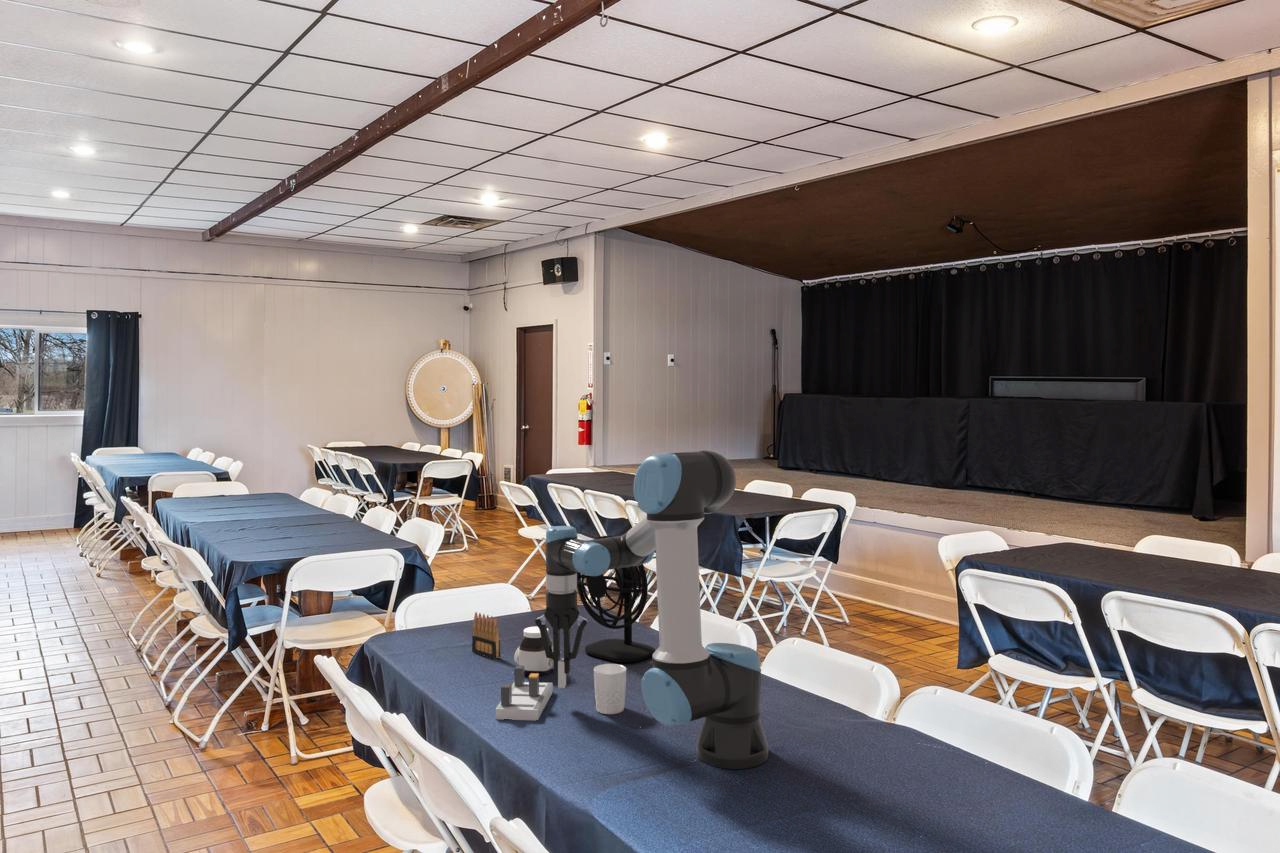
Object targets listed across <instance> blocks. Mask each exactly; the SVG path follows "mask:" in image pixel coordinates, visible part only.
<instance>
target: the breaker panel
mask: <svg viewBox="0 0 1280 853" xmlns="http://www.w3.org/2000/svg"><path fill="white" fill-rule="evenodd" d="M511 684H512V703H511V704H510V706H501V701H500V702H499V703H498V705H497V706H496V708H495V720H504V719H510V720H511V719H512V720H514V721H536V720H538V721H539V719H540V717H541V715H542V714H541V713H543V712H544V710H543V709H545V708H546V706H547V704H548V702H549V701H550V698H551V696H552V695H553V687H554V683H553V682H539V694H538V696H529V681H524V684H523V686H515V683H514V682H513V683H511ZM542 711H543V712H542ZM512 720H511V721H512Z"/></svg>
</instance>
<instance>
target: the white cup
mask: <svg viewBox="0 0 1280 853" xmlns="http://www.w3.org/2000/svg"><path fill="white" fill-rule="evenodd" d="M593 682H594V685H593V686H594V698H595V709H596V712H598V713H600V714H604V715H616V714H620V713H622V712H624V710H625V702H626V701H625V700H626V699H625V698H626V689H627V688H626V687H627V667H626V666H624V665H623V664H617V663H603V664H598V665H596V666H594V668H593Z"/></svg>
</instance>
